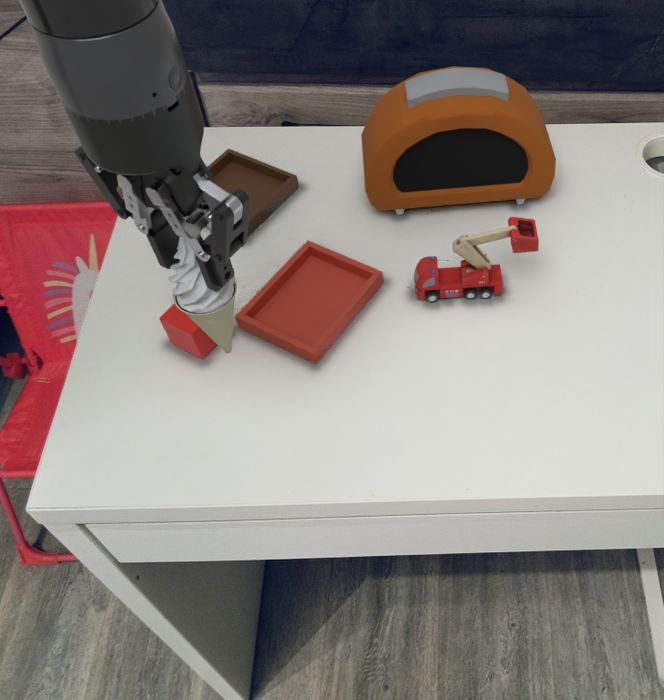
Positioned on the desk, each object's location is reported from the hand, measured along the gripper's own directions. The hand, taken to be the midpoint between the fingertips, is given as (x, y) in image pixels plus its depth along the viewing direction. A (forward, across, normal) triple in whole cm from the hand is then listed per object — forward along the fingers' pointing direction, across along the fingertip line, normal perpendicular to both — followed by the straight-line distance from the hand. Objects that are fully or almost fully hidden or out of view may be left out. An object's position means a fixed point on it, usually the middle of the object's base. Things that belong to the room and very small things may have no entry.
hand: (197, 271), depth 60 cm
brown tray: (+23, -24, +26) cm, 42 cm away
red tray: (+23, -5, +16) cm, 29 cm away
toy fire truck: (+23, +10, +27) cm, 37 cm away
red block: (+23, -13, +6) cm, 27 cm away
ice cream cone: (+10, 0, 0) cm, 10 cm away
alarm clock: (+23, 0, +41) cm, 47 cm away
